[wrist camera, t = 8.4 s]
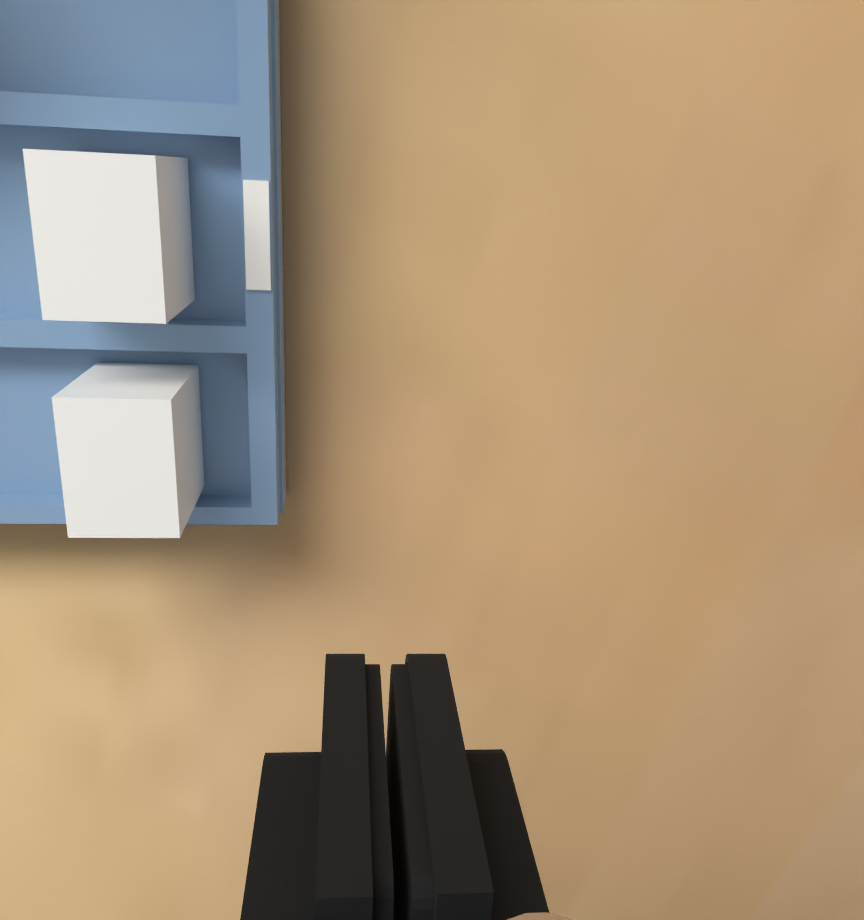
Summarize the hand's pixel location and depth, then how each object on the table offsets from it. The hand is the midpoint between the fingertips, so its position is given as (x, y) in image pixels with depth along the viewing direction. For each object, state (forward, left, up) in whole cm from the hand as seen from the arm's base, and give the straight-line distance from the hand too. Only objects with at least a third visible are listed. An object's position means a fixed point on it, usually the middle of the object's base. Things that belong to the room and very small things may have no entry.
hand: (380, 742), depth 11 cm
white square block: (+7, 0, -16) cm, 17 cm away
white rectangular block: (+7, -6, -16) cm, 18 cm away
